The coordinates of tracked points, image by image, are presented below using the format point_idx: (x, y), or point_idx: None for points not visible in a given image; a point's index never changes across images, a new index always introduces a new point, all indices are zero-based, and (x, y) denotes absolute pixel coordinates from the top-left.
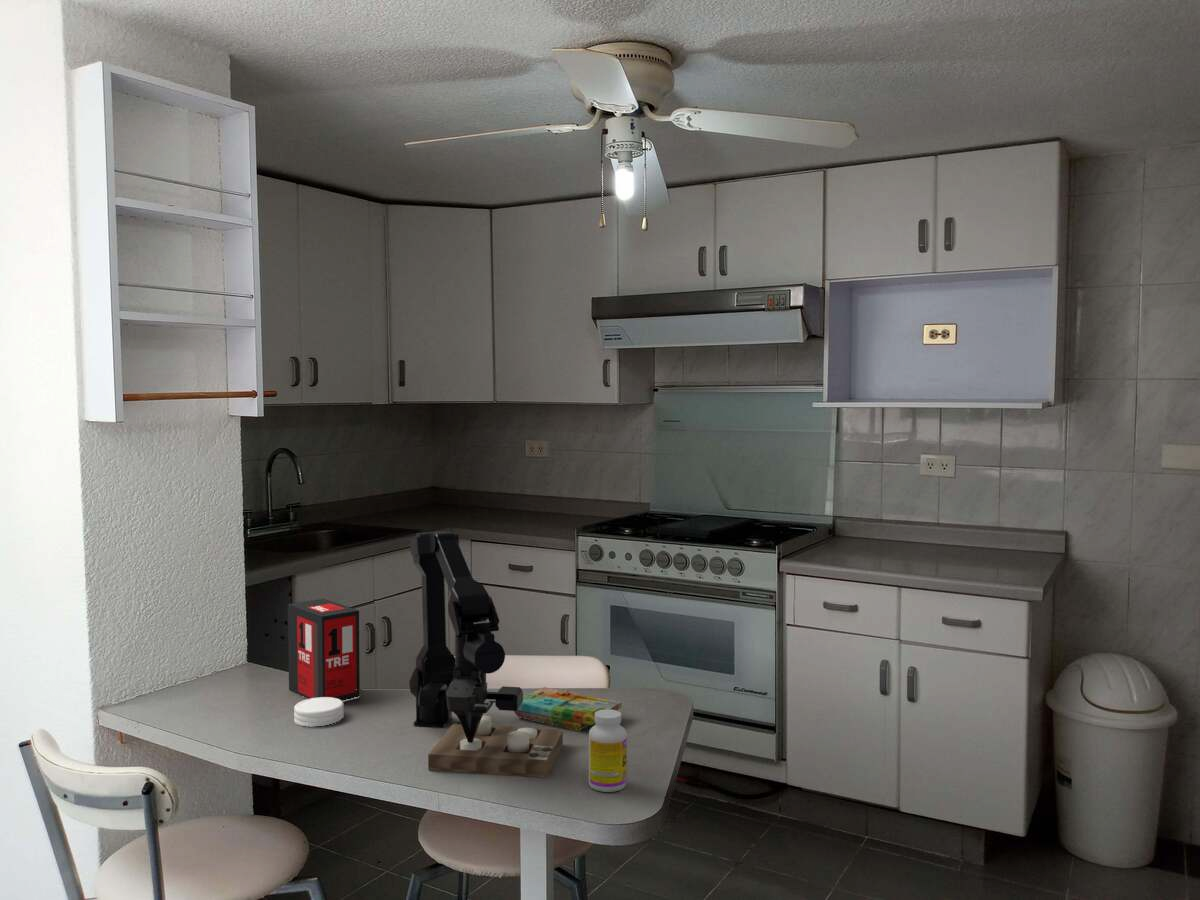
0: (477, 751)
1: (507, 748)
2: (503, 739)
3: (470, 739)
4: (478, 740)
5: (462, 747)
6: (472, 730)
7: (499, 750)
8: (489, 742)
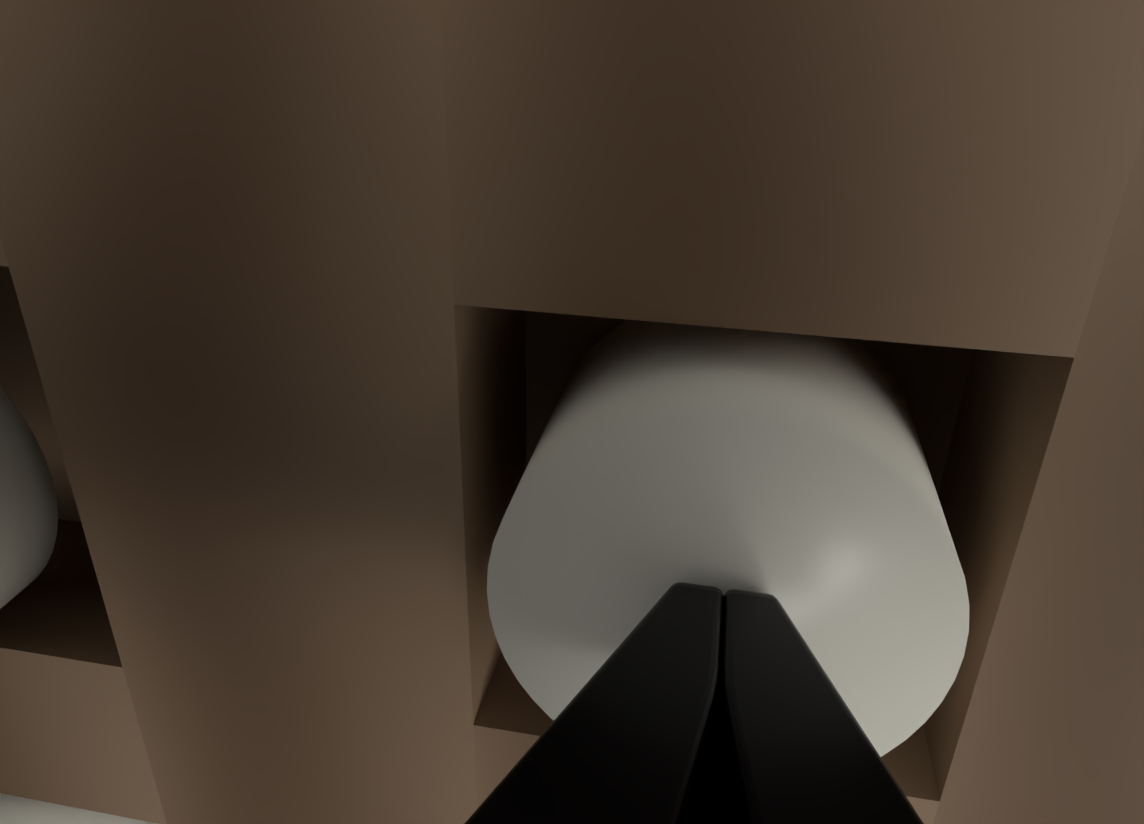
0: (498, 260)
1: (17, 441)
2: (247, 775)
3: (707, 620)
4: (574, 684)
5: (883, 442)
6: (610, 777)
7: (100, 345)
8: (414, 685)
